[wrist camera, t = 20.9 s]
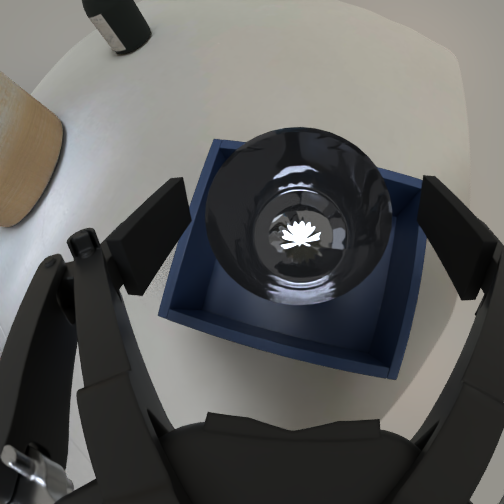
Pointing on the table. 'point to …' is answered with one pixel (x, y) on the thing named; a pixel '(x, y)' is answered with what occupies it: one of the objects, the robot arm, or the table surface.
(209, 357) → the table surface
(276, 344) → the bin
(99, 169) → the table surface
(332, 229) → the wine glass
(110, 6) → the wine bottle
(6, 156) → the planter
